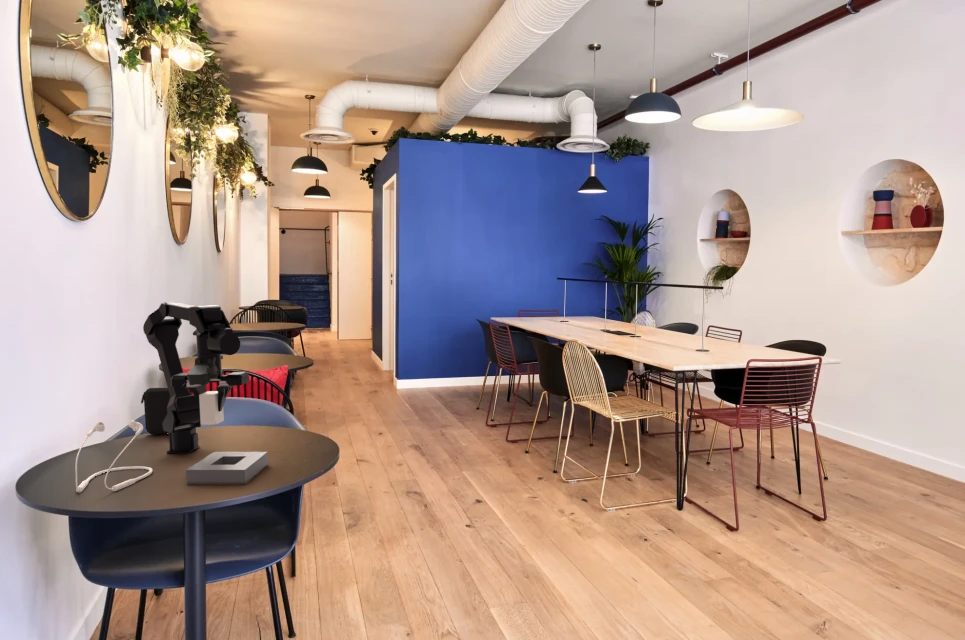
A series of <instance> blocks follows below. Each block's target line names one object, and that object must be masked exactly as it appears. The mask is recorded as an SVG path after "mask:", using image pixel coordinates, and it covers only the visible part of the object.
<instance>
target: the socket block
mask: <svg viewBox="0 0 965 640" xmlns="http://www.w3.org/2000/svg"><path fill="white" fill-rule="evenodd" d="M267 465H268V466H269V452H268V451H214V452H212V453H210V454H208V455H207V456H205V457H204V458H202V459H200V460H199V461H198V462H196V463H195V464H192V465H191V466H190V467H189V468H187V469H186V470H185V475H186V478H185V479H186V485H246V484H248V483H249V482H250V481H251V480H252V479H254V478H255V477H256V476H257V475H258V474H260V471H261V470H262V469H263V468H264V467H265V466H266V467H268V466H267ZM266 467H265V468H266ZM265 468H264V469H265ZM264 469H263V470H264ZM263 470H262V471H263ZM262 471H261V472H262ZM255 475H256V476H255ZM254 476H255V477H254Z"/></svg>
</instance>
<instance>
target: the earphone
mask: <svg viewBox="0 0 965 640" xmlns="http://www.w3.org/2000/svg"><path fill="white" fill-rule="evenodd" d="M128 427H129V428H131V429H132V430H133V431H134V433H135V434H134V436H133V438H131V440H130V441H129V442H128V443H127V445H125V447H124V448H123V449H122V450H121V451H120V453H119V454H118V455H117V456H116V458H115V459H114V460H113V462H112V463H111V465H109V468H108V469H104V470H100V471H97V472H95V473H93V474H92V475H90V476H88V477H87V478H86V479H85V480H82V482H81V483H80V484H79V485H78V461H79V456H80V452H81V451H82V448H83V446H84V444H85V442H86V441H87V439H88V438H89V437H92V435H93V434H94V432H99V433H102V432H105V430H106V427H105V423H104V422H103V421H101V420H100V421H97V422H96V424H95V425H94V426H93V427H92V428H91V429H90V430H89V431H88V433H86V437H85V438H84V440H83V442H82V443H81V445H80V447H79V449H78V452H77V455H76V457H75V466H74V467H75V468H74V469H75V487H76V489H75V491H76V493H82V492H83V491H84V489H85V488H86V487H87V486H88V485H89V482H90V481H91V480H92V479H94V478H95V476H96V477H98V476H100V475H102V473H103V474H105V477H104V486H105V488H106V489H107V490H111V491H112V492H116V491H120V490H121V489H122V490H123V489H124V488H126V487H129V486H131V485H133V484H135V483H136V482H138V481H140V480H143V479H144V478H147V477H148V476H151V474H152V473H154V472H153V471H154V470H153V467H150V466H142V465H141V466H140V465H139V466H138V465H137V466H136V465H135V466H134V465H133V466H119V467H113V466H114V464H115V463H116V462H117V460H118V459H119V457H121V455H122V454H123V452H124V451H125V450H126V449H127V448H128V447H129V445H130V444H131V443H132V442H133V441H134V439H135V438H137V436H139V435H140V434H141V433H142V432H143V431H144V425H143V424H142V423H140V422H138V421H135V420H130V421H129V423H128ZM112 467H113V468H112ZM144 469H145V470H146V471H147V472H146V473H145V474H142V475H140V476H137V477H136V478H130V479H127V480H125V481H123V482H120V483H118V484H115V485H113V486H111V487H108V485H107V477H108V475H109V473H111V472H116V471H124V470H144ZM110 471H111V472H110ZM105 472H107V473H105Z"/></svg>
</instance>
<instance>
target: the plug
mask: <svg viewBox="0 0 965 640" xmlns="http://www.w3.org/2000/svg"><path fill="white" fill-rule="evenodd" d="M199 402H200V422H201V426H215V425H216V426H217V425H218V424H220V423H222V422H224V421H225V417H224V416H225V415H224V414H225V413H224V407H223V408H222V411H220V412H219V411H218V391H217V390H211V391H210V390H206V392H205V393H202V394H200V395H199Z"/></svg>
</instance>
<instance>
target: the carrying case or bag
mask: <svg viewBox="0 0 965 640" xmlns="http://www.w3.org/2000/svg"><path fill="white" fill-rule="evenodd" d="M169 400H170V394H169V390H168V387H167V386H166V387H149V388H147V389H146V390H145V391H144V392H143V394H142V396H141V400H140V403H141V404H143V405H144V424H145V430H146V433H148V434H149V435H151V434H167V433H169V432H166V431H164V430H163V425H162V423H163V421H164V419H165V417H166V416H167V414H168V412H167V406H168V403H169ZM167 435H168V434H167Z"/></svg>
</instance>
